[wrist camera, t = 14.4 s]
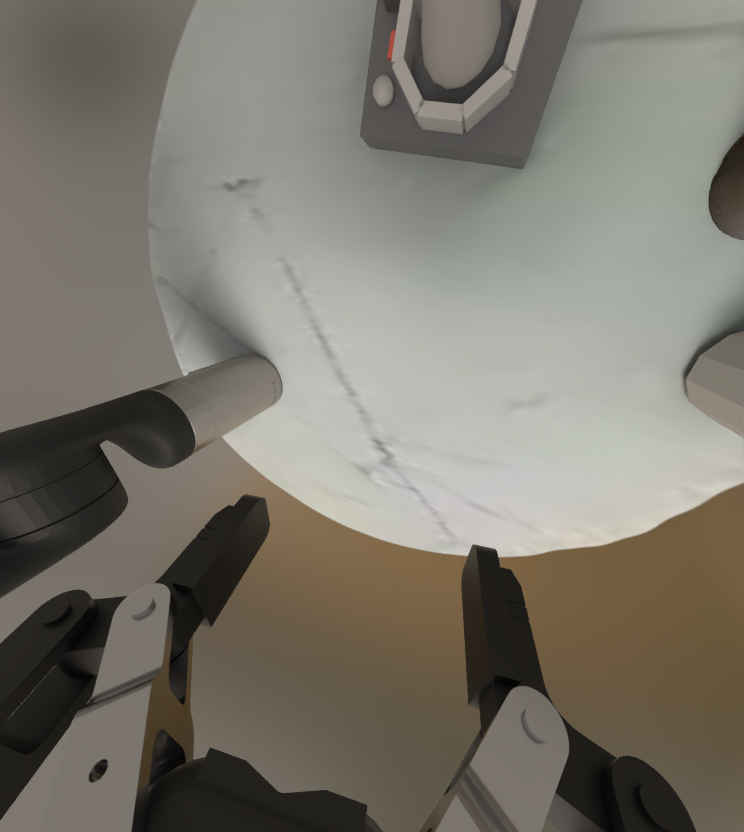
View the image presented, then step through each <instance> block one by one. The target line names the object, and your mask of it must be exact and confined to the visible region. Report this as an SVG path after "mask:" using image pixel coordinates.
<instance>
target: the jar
mask: <svg viewBox="0 0 744 832" xmlns="http://www.w3.org/2000/svg"><path fill="white" fill-rule="evenodd" d="M686 387H687V394H688V401H689V402H690V403H691V404H693V405H694V406H695V407H696V408H698V409H699V410H700V411H701V412H703V413H704V414H705V415H706V416H708V417H709V418H711V419H713V420H714V421H716V422H718V423H719V424H721V425H723V426H724V427H726V428H728V429H729V430H731V431H733V432H734V433H736V434H738V435H739V436H741V437H743V438H744V331H741V332H737V333H734V334H730V335H729V336H727V337H726V338H724V339H723V340H721V341H720V342H719V343H717V344H716V345H714V346H713V347H711V348H710V349H708V350H707V351H705V352H704V353H703V354H701V355H700V356H699V358H698V359H697V361H696V363H695V364H694V366H693V368H692V369H691V371H690V373H689V374H688V376H687V378H686Z"/></svg>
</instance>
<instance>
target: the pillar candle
mask: <svg viewBox="0 0 744 832" xmlns="http://www.w3.org/2000/svg"><path fill="white" fill-rule="evenodd" d="M709 208H710V213H711V216H712V219H713V221H714V223H715V224H716V226H717V227H718V229H720V230H721V231H722V232H723V233H725V234H727V235H729V236H731V237H733V238H736V239H741V240H744V136H743V137H741V138H740V139H739V140H738V142H737V143H736V144H735V145H734V146H733V147H732V148H731V150H730V151H729V152H728V153H727V155H726V156H725V158H724V161H723V163H722V165H721V166H720V168H719V171H718V173H717V175H716V176H715V178H714V180H713V183H712V187H711V191H710V197H709Z"/></svg>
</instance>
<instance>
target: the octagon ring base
mask: <svg viewBox="0 0 744 832" xmlns="http://www.w3.org/2000/svg"><path fill="white" fill-rule="evenodd" d="M500 1H501V26H500V30H499V33H498V37H497V41H496V44H495V48H494V51H493V55H492V56H491V58H490V59H489V61H488V62H487V64H486V66H485V67H484V69H483V70H482V72H481V73H480V75H479V76H477V77H476V78H475V79H474V80H472V81H471V82H470V83H468V85H467V86H466V87H465V88H464V89H463V88H456V89H451V90H447V89H445V88H443V87H441V86H439V85H437V84H435V83H434V82H433V80H432V78H431V76H430V75H429V73H428V71H427V69H426V67H425V66H424V60H423V52H422V43H421V29H422V0H377V6H376V14H375V22H374V30H373V38H372V46H371V54H370V61H369V69H368V77H367V85H366V93H365V101H364V109H363V117H362V124H361V132H360V136H361V137H362V138H363V140H364V141H365V142H366V143H367V145H368V146H369V147H370V148H377V149H384V150H391V151H399V152H406V153H413V154H420V155H427V156H434V157H441V158H448V159H455V160H463V161H470V162H477V163H484V164H491V165H498V166H505V167H512V168H519V169H523V167H524V165H525V163H526V160H527V158H528V155H529V152H530V149H531V146H532V143H533V140H534V137H535V135H536V132H537V129H538V126H539V123H540V120H541V117H542V114H543V112H544V109H545V106H546V103H547V100H548V97H549V94H550V91H551V89H552V86H553V83H554V80H555V77H556V74H557V71H558V68H559V66H560V63H561V60H562V57H563V54H564V51H565V48H566V45H567V43H568V40H569V37H570V34H571V31H572V28H573V25H574V22H575V19H576V17H577V14H578V11H579V8H580V5H581V2H582V0H500Z"/></svg>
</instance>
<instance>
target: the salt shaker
mask: <svg viewBox="0 0 744 832" xmlns="http://www.w3.org/2000/svg"><path fill="white" fill-rule="evenodd" d="M500 26H501V1H500V0H422V29H421V43H422V52H423V60H424V66H425V67H426V69H427V71H428V73H429V75H430V76H431V78H432V80H433V82H434V83H435V84H437V85H439V86H441V87H443V88H445V89H447V90H451V89H456V88H463V89H464V88H465V87H466V86H467V85H468V83H470V82H471V81H472V80H474V79H475V78H476V77H477V76H479V75H480V73H481V72H482V70H483V69H484V67H485V66H486V64H487V62H488V61H489V59H490V58H491V56H492V55H493V51H494V48H495V44H496V41H497V37H498V33H499V30H500Z"/></svg>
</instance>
